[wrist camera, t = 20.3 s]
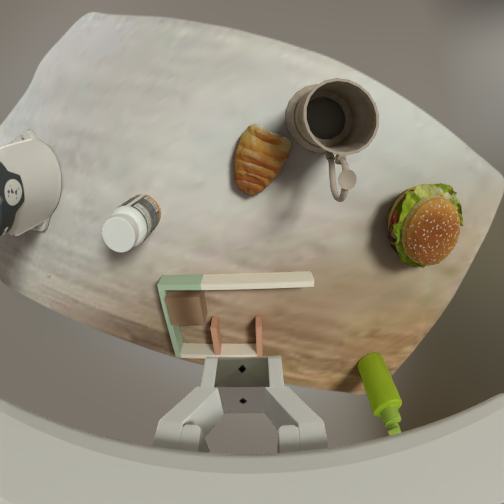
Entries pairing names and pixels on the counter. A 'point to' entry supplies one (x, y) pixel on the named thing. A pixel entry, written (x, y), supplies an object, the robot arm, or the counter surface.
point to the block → (186, 307)
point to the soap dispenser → (381, 391)
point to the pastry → (259, 158)
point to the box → (217, 347)
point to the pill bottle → (131, 223)
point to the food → (425, 224)
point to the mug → (351, 137)
